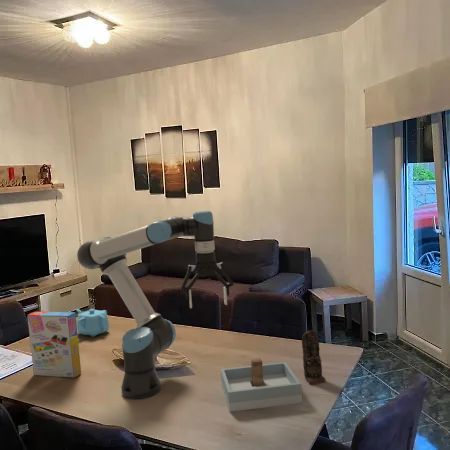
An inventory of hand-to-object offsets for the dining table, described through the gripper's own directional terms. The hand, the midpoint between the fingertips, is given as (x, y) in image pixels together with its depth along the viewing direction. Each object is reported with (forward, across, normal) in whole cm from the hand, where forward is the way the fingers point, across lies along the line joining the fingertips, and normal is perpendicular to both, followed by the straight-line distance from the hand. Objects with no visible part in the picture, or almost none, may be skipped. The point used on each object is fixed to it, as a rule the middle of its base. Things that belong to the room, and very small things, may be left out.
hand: (208, 305), depth 177 cm
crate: (+32, +16, -13) cm, 38 cm away
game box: (+32, -65, +27) cm, 77 cm away
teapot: (+32, -58, +80) cm, 104 cm away
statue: (+32, +39, -7) cm, 51 cm away
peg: (+32, +16, -10) cm, 37 cm away
